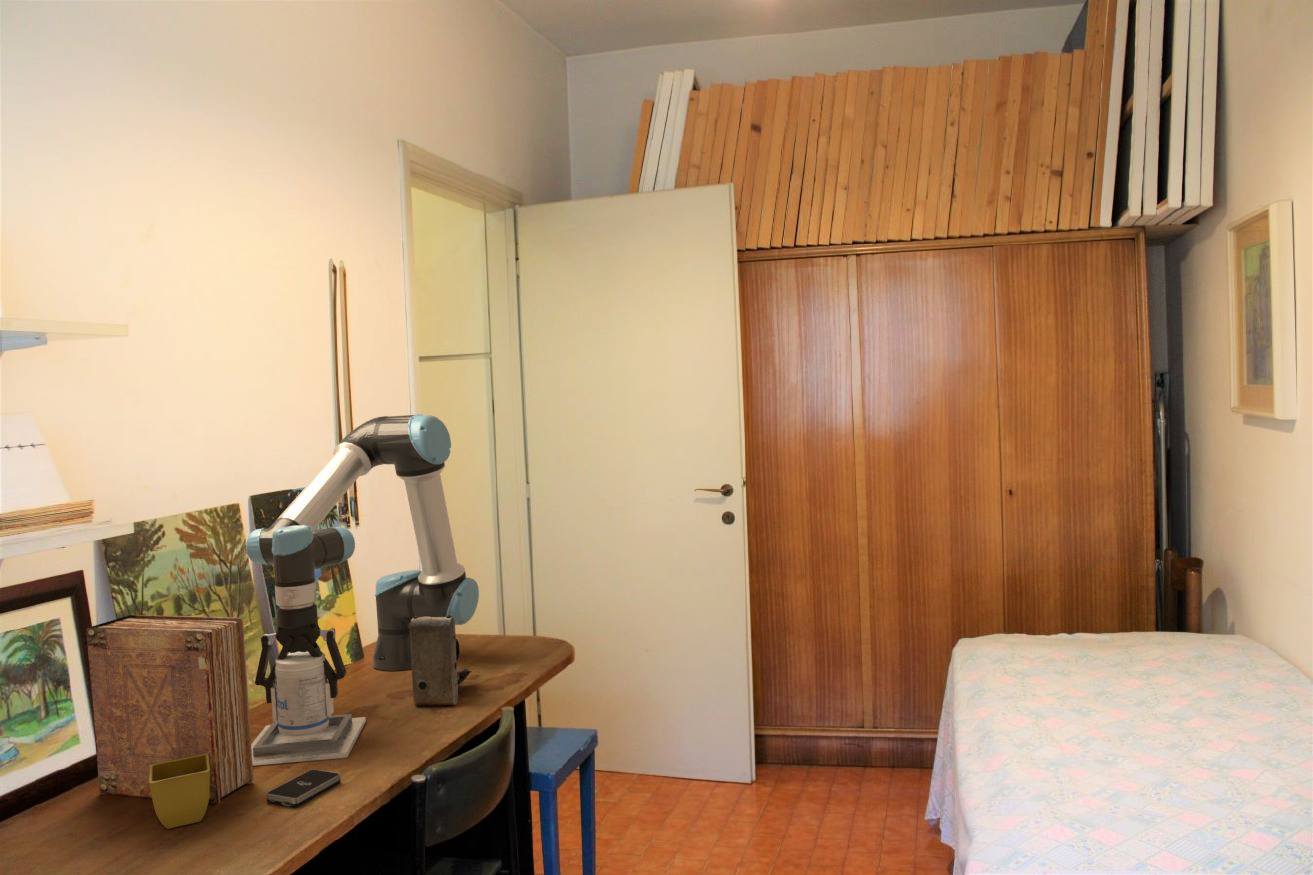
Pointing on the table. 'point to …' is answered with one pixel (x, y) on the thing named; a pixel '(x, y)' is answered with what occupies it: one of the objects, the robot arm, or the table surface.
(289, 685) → the supplement tub
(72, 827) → the table surface
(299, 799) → the external hard drive
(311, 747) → the mounting plate
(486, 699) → the table surface
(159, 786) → the flower pot
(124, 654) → the book
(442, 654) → the vintage camera
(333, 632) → the robot arm
